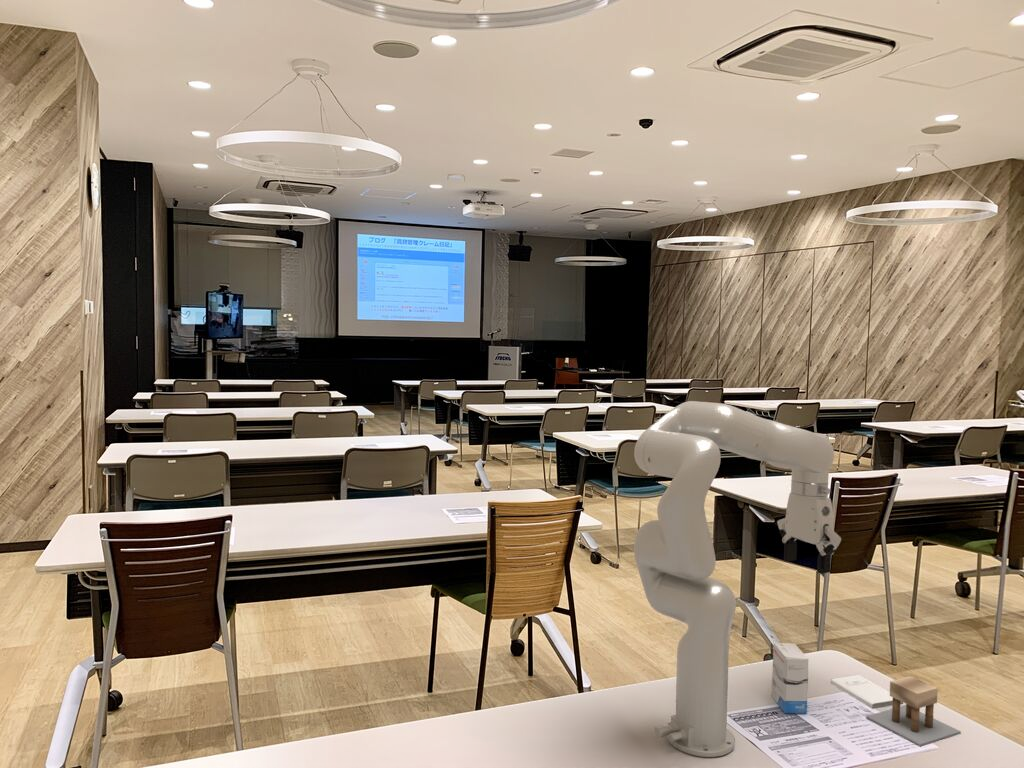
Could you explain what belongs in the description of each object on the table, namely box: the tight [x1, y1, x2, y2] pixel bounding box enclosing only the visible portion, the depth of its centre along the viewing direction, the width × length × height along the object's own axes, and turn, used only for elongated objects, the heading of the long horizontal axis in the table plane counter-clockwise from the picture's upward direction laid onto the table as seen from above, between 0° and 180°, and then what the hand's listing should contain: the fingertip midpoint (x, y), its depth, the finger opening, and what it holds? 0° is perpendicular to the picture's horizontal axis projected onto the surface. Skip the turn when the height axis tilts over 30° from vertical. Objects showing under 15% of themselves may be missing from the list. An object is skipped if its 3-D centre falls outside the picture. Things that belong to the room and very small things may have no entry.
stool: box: [889, 675, 938, 733], centre depth 151 cm, size 6×6×8 cm
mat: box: [865, 704, 962, 747], centre depth 151 cm, size 12×12×1 cm
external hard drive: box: [830, 674, 904, 709], centre depth 165 cm, size 2×8×12 cm
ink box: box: [771, 642, 809, 715], centre depth 159 cm, size 8×5×12 cm, turn 179°
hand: (806, 566), depth 166 cm, fingers open, 9 cm apart
